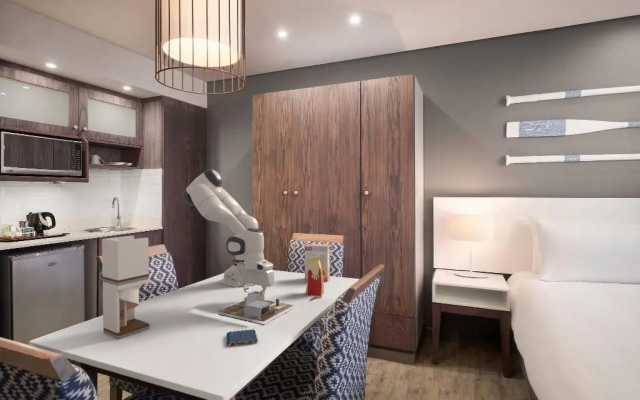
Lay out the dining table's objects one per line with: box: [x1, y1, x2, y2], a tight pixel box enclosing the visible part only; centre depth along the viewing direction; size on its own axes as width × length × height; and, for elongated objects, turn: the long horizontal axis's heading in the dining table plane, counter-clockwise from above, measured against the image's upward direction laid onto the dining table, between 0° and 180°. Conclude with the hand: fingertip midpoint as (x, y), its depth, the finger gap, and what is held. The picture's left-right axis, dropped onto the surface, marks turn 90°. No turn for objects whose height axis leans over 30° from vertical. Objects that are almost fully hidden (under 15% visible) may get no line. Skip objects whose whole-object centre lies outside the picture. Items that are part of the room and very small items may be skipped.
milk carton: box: [305, 256, 325, 298], centre depth 178 cm, size 9×9×20 cm
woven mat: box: [226, 328, 259, 347], centre depth 124 cm, size 10×11×2 cm
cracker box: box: [304, 243, 331, 282], centre depth 208 cm, size 14×6×21 cm, turn 76°
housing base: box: [217, 298, 294, 326], centre depth 153 cm, size 24×22×4 cm
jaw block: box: [247, 290, 265, 301], centre depth 162 cm, size 5×5×4 cm
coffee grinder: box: [101, 235, 150, 340], centre depth 131 cm, size 11×11×35 cm
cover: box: [243, 293, 270, 318], centre depth 145 cm, size 8×7×7 cm
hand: (254, 293), depth 161 cm, fingers open, 8 cm apart
